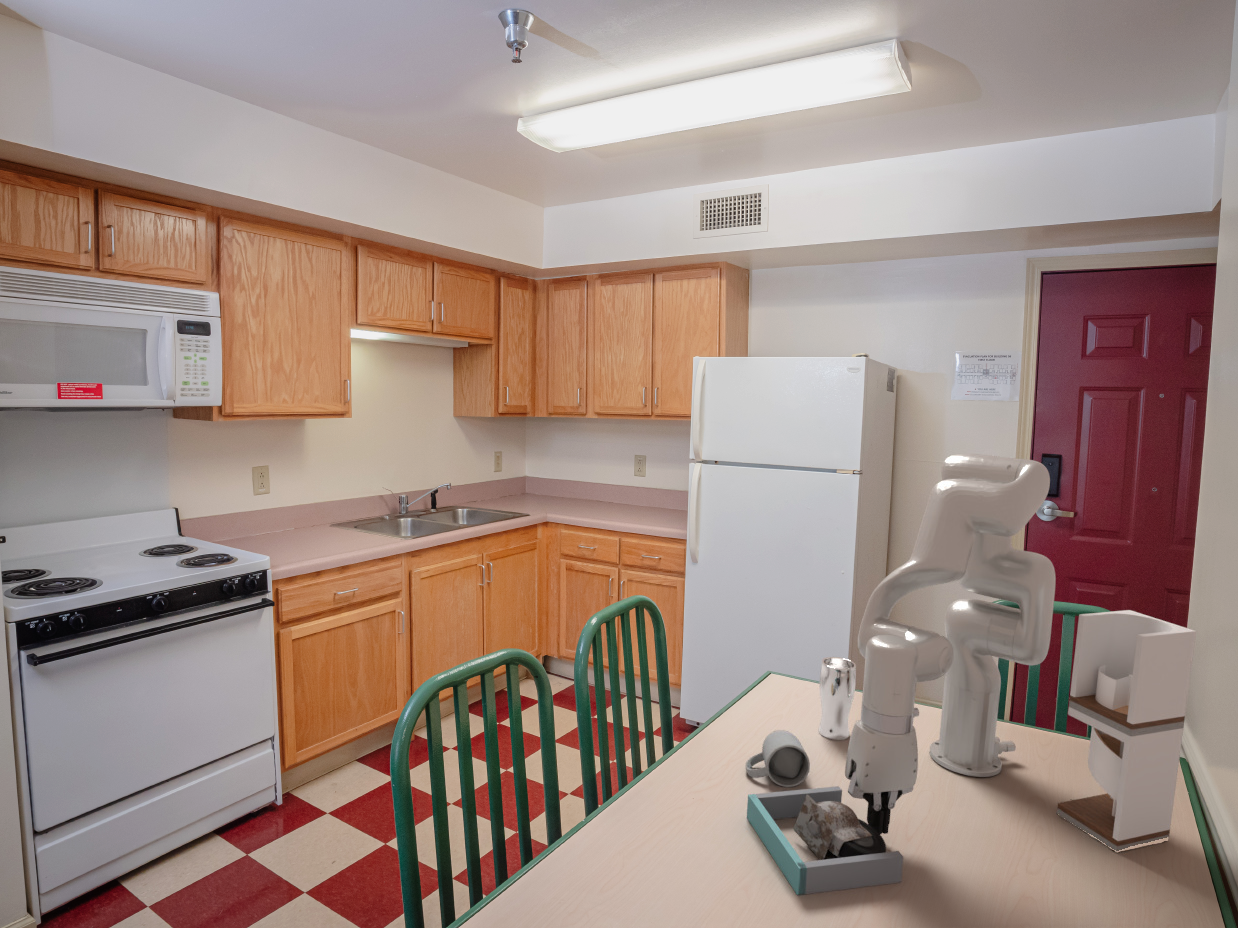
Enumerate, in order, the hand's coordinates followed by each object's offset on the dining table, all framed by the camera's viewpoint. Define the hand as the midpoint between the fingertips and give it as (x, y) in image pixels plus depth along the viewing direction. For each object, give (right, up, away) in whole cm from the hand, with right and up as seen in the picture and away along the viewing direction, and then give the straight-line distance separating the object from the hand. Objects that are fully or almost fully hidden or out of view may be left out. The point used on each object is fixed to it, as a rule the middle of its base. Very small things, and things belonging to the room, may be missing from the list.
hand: (877, 828), depth 115 cm
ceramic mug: (-12, 0, +18) cm, 22 cm away
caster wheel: (-6, -2, -2) cm, 7 cm away
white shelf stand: (+41, -3, +6) cm, 41 cm away
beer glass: (+4, +2, +36) cm, 36 cm away
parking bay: (-10, -2, -2) cm, 10 cm away
